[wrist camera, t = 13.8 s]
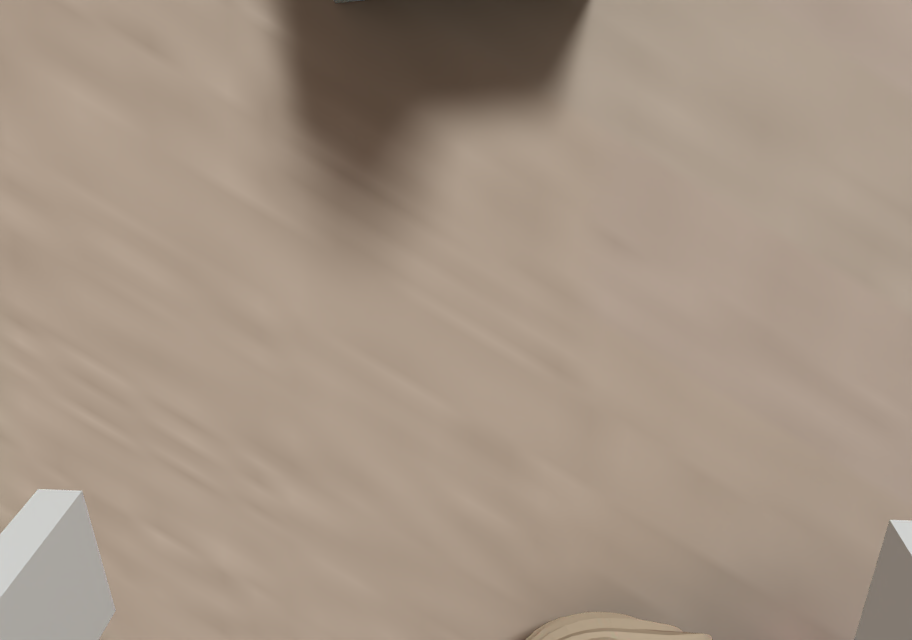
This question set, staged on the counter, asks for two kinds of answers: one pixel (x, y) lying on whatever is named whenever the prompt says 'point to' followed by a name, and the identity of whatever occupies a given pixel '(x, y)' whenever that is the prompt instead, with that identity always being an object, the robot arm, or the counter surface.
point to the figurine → (610, 629)
